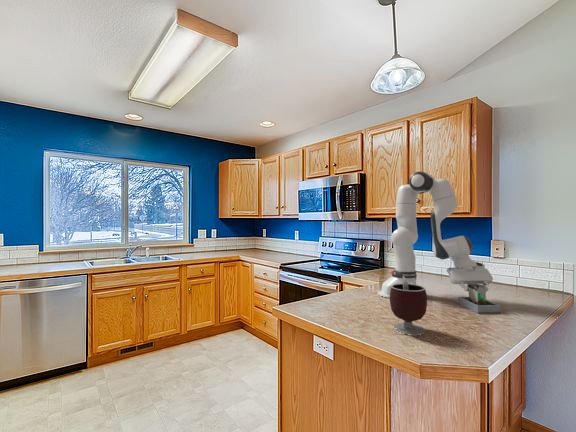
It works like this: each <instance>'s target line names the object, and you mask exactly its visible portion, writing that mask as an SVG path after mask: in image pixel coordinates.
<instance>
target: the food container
mask: <svg viewBox="0 0 576 432" xmlns="http://www.w3.org/2000/svg"><path fill="white" fill-rule="evenodd" d="M466 286H468V287H469V291H467V292H468V297H469V300H470V302H472V303H474V304H476V305H486V300H487V299H486V298H487V297H486V296H487V292H488V291H487V289H486V287H485V286H484V285H483V284H466Z"/></svg>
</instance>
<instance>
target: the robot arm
mask: <svg viewBox="0 0 576 432" xmlns="http://www.w3.org/2000/svg"><path fill="white" fill-rule="evenodd" d="M427 192H428V193H429V194H430V195H431V198H432V201H433V207H434V208H433V210H432V211H431V212H430V227H431V237H432V251H433V254H434V256H435V258H438V259H439V260H443V261H444V260H447V259H450V260H451V261H452V262H453V267H448V268H447V269H446V272H447V274H448V277H449V279H450V283H451V284H453V285H459V286H460V287H461V288H463V290H464V291H465V292H468V291H469V287H468V286H467V284H480V285H484V286H485V287H486V289H487V292H488V291H489V288H488V285H490V284H491V283H492V282H493V281H494V279H493V276H492V274H491V272H490V271H489V269H487V268H485V267H486V266H485V264H484V263H482V262H478V261H474V260H472V259H471V257H470V255H471V254H472V252H473V250H474V247H473V244H472V241H471V239H470V238H469V237H467V236H465V235H459V236H455V237H451V238H446V239H442V234H441V223H442V221H443V220H444V219H446V218H448V217H449V216H450V215H452V214H453V213H454V212H455V211H456V210H457V208H458V199H457V196H456V193H455V191H454V188H453V186H452V185H451V183H450V181H449V180H448V179H446V178H438V179H435V178H434V177H433V175H431V174H429V172H425V171H415V172H414V173H412V174H411V175H410V177H409V180H408V184H402V185H400V186H399V187H398V189H397V193H396V198H395V199H396V201H395V219H396V225H397V229H395V230H394V231H393V232H392V233H391V235H390V240H391V243H392V247H393V252H394V263H395V264H394V270H392V269H390V270H389V274H390V275H391V276H390V277H389V278H388V279H386V280H385V281H383V282H382V285H381V290H380V289H379V290H378V291H377V294H378V295H379V296H380V297H382V296H383V298H385V297H386V299H390V290H391V285H394V284H403V276H404V277H405V278H406V280H407V283H408V284H413V285H417V279H418V278H417V270H416V255H415V252H414V251H415V250H414V244H415V243H416V242H417V241H418V239H419V234H418V225H417V224H418V223H417V198H418V196H419V195H421V194H424V193H427Z"/></svg>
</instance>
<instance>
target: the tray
mask: <svg viewBox="0 0 576 432" xmlns="http://www.w3.org/2000/svg"><path fill="white" fill-rule="evenodd" d="M457 304H458V305H461V306H462V307H464V308H466V309H468V310H470V311H472V312H475V313H476V314H501V305H499V304H497V303H495V302H492V301H490V300H487V299H486V305H476V304H474V303H472V302H470V300H469V296H457Z"/></svg>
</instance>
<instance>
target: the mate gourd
mask: <svg viewBox="0 0 576 432" xmlns="http://www.w3.org/2000/svg"><path fill="white" fill-rule="evenodd" d="M427 295H428V294H427V291H426V287H425V286H423V285H418V284H416V285H413V284H408V283H407V280H406V278H405V277H404V276H403V284H394V285H391V290H390V298H389V305H390V309H391V312H392V313H393V315H394V316H395V317H396V318H398V319H399V320H402V321H404V322H401V323H399V322H398V323H395V324H393V325H392V326H394V328H397V329H396V331H398V332H401V333H404V334H411V335H420V334H423V335H425V334H426V329H425V328H424V327H422V326H421V325H417V324H415V323H414V324H413V322H416V321H419V320H421V319H423V317H424V316H425V315H426V314H427V306H428V297H427ZM394 328H393V329H394ZM393 329H392V330H393ZM424 333H425V334H424ZM420 336H421V335H420Z"/></svg>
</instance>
